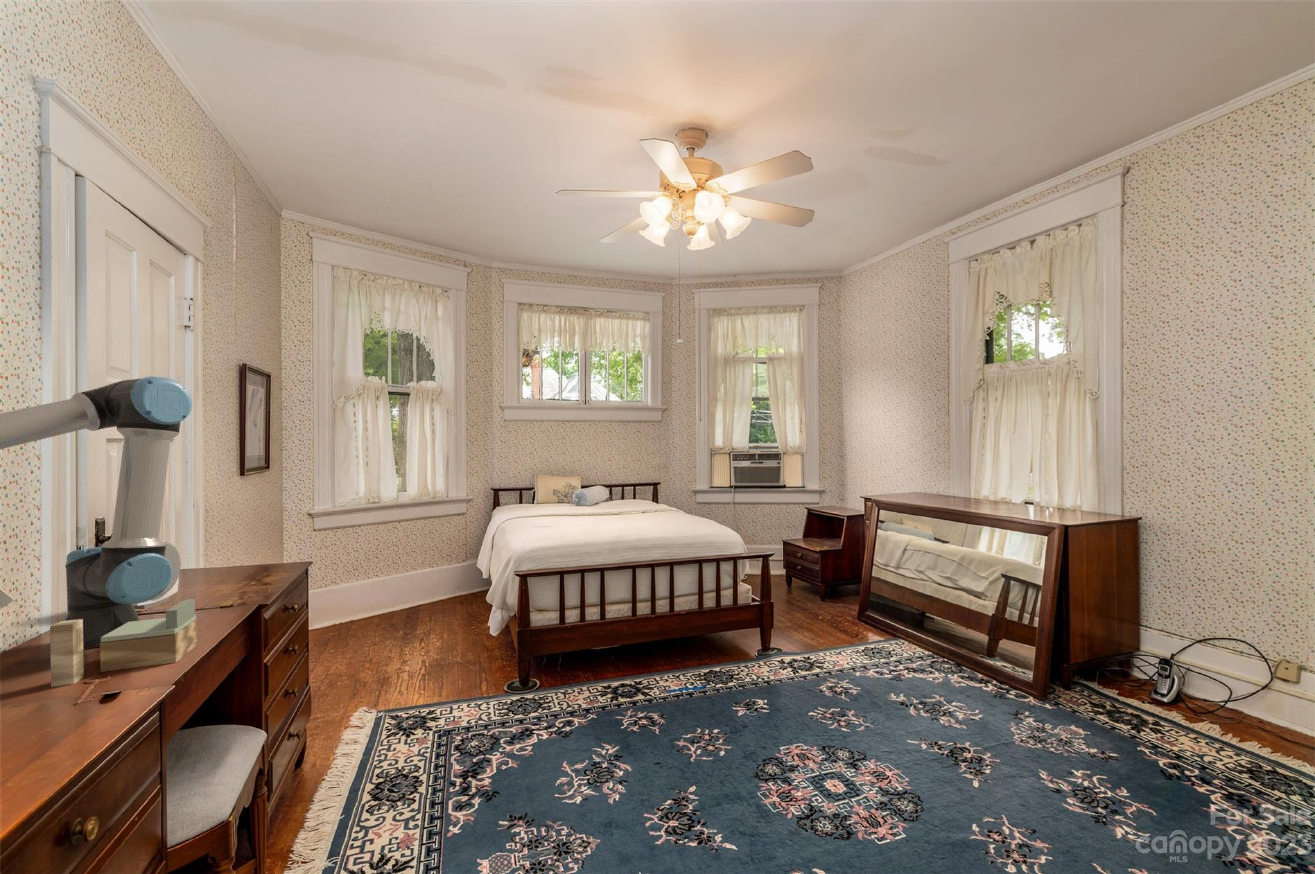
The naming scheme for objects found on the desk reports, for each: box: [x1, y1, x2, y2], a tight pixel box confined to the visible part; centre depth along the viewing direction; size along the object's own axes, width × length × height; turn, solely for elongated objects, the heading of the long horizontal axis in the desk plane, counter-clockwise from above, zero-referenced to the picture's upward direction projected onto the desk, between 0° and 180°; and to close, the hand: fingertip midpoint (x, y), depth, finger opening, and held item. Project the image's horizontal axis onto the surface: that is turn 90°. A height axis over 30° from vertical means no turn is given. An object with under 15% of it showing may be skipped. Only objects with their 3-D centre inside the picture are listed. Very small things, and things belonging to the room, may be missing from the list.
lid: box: [101, 598, 197, 642], centre depth 131 cm, size 12×13×5 cm
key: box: [73, 675, 112, 705], centre depth 114 cm, size 6×1×15 cm
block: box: [49, 619, 85, 687], centre depth 118 cm, size 4×4×12 cm
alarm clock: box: [133, 539, 182, 609], centre depth 175 cm, size 18×8×20 cm, turn 6°
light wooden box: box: [99, 619, 198, 673], centre depth 131 cm, size 12×13×6 cm
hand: (0, 610), depth 113 cm, fingers open, 13 cm apart
